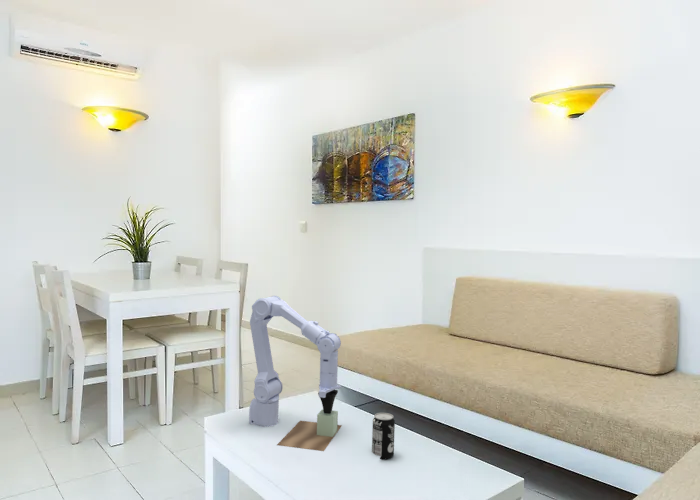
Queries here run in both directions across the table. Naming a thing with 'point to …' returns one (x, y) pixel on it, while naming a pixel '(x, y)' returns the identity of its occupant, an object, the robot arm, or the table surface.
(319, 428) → the green slotted cube
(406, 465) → the table surface
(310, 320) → the robot arm
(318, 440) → the board
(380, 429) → the beverage can
